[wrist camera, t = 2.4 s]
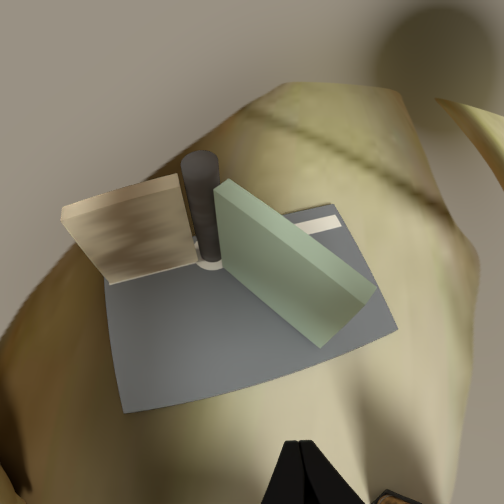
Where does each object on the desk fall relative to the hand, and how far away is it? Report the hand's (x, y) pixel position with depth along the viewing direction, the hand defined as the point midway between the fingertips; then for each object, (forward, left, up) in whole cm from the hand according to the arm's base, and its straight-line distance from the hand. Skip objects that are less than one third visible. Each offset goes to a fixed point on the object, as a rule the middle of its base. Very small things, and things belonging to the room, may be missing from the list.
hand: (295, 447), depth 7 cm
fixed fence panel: (+13, -9, -12) cm, 20 cm away
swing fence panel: (+3, -9, -12) cm, 15 cm away
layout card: (+5, -9, -13) cm, 16 cm away
